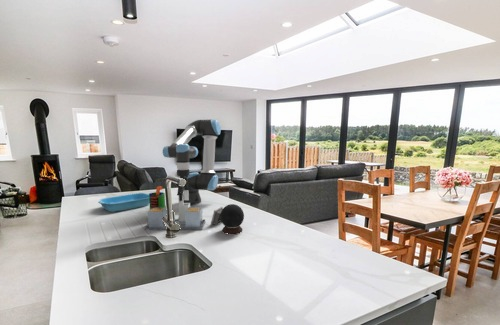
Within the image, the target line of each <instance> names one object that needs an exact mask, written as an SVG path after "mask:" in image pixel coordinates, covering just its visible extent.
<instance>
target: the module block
mask: <svg viewBox="0 0 500 325" xmlns="http://www.w3.org/2000/svg"><path fill="white" fill-rule="evenodd" d="M177 206H178V209H177V210H178V221H186V218H185V211H186V210H187V209H188V208H189V207H191V205H190V203H184V206H179V204H178V205H177Z"/></svg>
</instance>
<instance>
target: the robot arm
mask: <svg viewBox="0 0 500 325" xmlns="http://www.w3.org/2000/svg"><path fill="white" fill-rule="evenodd" d="M221 131H222V130H221V124H220V122H219V121H218V120H217V119H197V120H194V121H192V122H190V123H189V124H188V125H187V126H186V127H185V129H184V131H183V132H182V133H181V134H179V136H178V137H177V138H176V139H175V140H174V141H173V142H172V143H171V144H170V145H166V146H163V147H162V155H163V157H164V158H170V159H171V158H172V159H173V158H175V159H176V164H175V166H176V169H177V170H176V176H178V177H179V178H183V179H185V180H186V181H187V184H186V186H184V187H180V186H177V194H176V196H178V205H179V206H184V203H190V206H191V205H198V204H200V203H202V197H201V195H200V192H199V191H215V190H216V189H217V187H218V184H219V176H218V175H217V173H216V171H215V158H216V157H215V154H216V140H217V139H218V136H219V135H221ZM197 136H201V137H202V138H203V156H202V157H203V158H202V170H200V174H199V172H197V171H195V172H191V171H190V159H194V158H196V157H197V156H198V154H199V150H198V148H197V147H196V146H192V145H191V146H190V145H189V144H188V143H189V142H190V141H191V140H192V138H195V137H197Z"/></svg>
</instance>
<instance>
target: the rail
mask: <svg viewBox="0 0 500 325" xmlns="http://www.w3.org/2000/svg"><path fill="white" fill-rule="evenodd" d="M166 214H167V215H168V209H167V210H166V206H165V207H153V208H152V209H151V210H150V209H149V210H148V211H147V222H148V223H146V225H145V226H144V230H145V231H167V230H166V226H165V224H164V222H163V221H162V218H163V217H164V216H166ZM185 218H186V221H179V220H175V221H176V223H177V224H179V225H180V228H181V230H183V231H191V230H193V231H200V230H201V231H202V230H203V229H204V227H205V225H206V219H204V218H203V206H190V207H189V208H188V209H187V210H186V211H185ZM181 230H180V231H181Z"/></svg>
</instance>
